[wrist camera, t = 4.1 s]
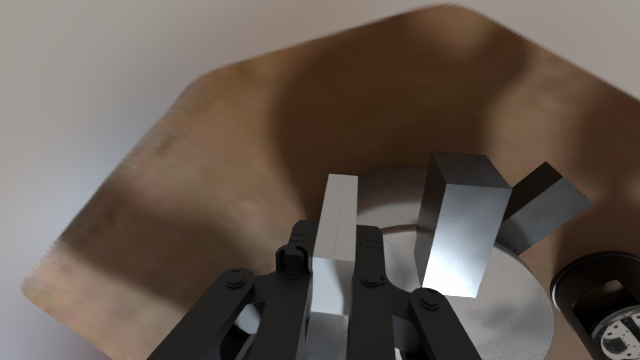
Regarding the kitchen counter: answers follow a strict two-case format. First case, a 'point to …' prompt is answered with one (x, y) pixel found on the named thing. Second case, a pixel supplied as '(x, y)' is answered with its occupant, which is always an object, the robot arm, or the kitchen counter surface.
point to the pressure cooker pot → (519, 217)
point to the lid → (459, 266)
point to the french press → (605, 326)
